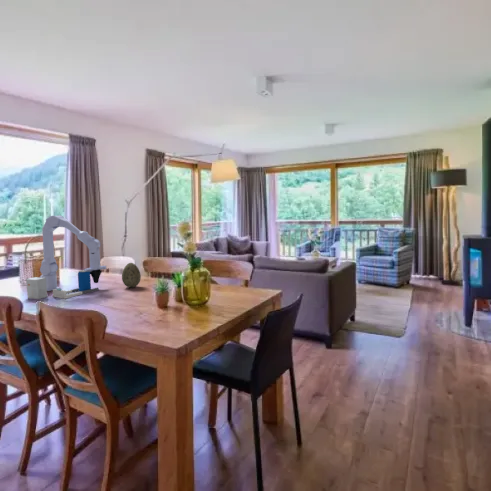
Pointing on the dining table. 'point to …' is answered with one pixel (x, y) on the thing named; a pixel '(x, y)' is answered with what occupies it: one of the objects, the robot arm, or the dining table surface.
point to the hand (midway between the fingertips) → (96, 282)
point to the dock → (62, 293)
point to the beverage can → (84, 280)
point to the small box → (36, 288)
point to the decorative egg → (131, 275)
